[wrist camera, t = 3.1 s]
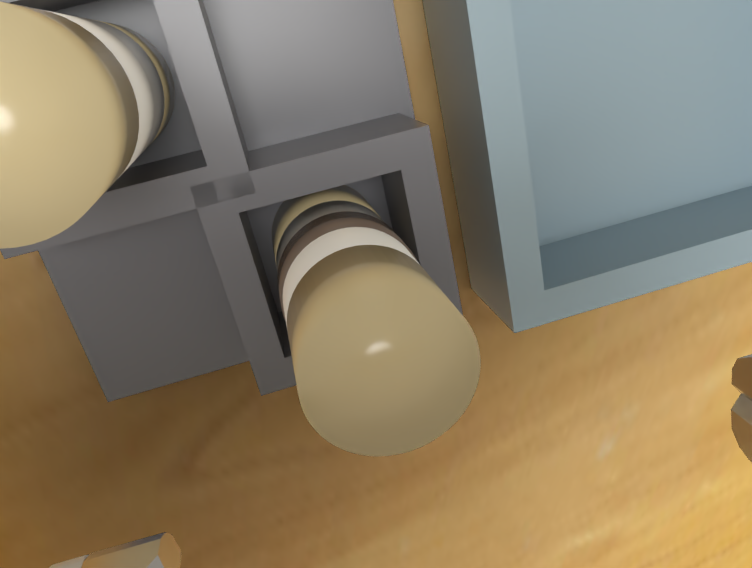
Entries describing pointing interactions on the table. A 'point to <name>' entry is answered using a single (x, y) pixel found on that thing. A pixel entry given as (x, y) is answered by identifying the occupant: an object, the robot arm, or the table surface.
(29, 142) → the cylinder
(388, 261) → the fuse
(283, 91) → the fuse holder
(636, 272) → the parts tray
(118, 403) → the table surface
